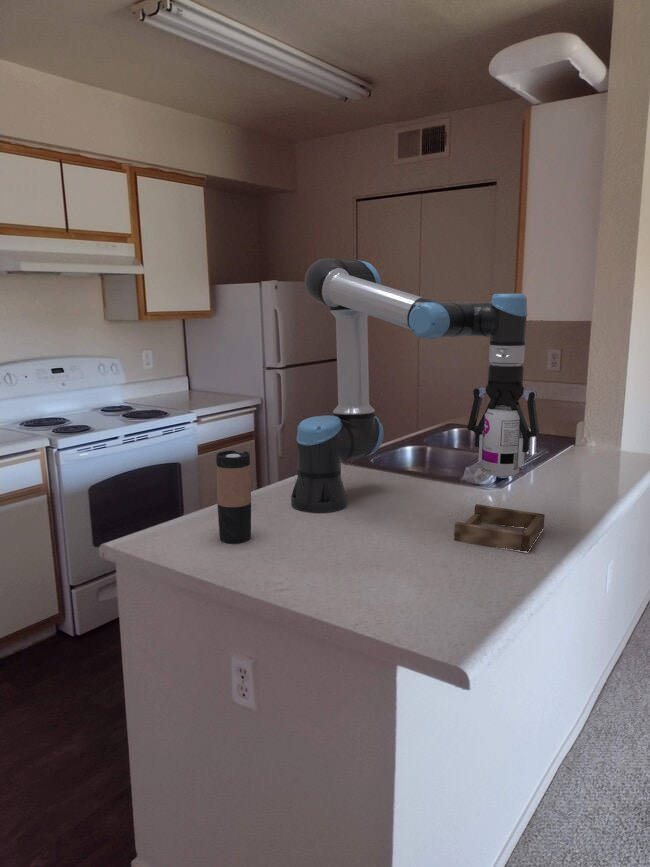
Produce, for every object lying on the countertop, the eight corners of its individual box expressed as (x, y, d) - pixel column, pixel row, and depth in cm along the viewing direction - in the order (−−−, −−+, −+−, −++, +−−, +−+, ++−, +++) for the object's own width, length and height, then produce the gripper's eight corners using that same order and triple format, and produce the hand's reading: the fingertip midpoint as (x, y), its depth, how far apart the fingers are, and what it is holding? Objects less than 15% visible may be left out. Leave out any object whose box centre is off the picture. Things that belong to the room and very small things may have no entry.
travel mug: (224, 546, 144) (222, 459, 140) (214, 535, 151) (211, 452, 147) (256, 540, 148) (255, 455, 144) (245, 530, 154) (243, 448, 150)
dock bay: (454, 540, 148) (454, 523, 147) (475, 519, 162) (476, 504, 162) (527, 553, 140) (529, 536, 139) (543, 530, 155) (544, 514, 154)
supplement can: (479, 475, 146) (482, 410, 143) (484, 467, 154) (488, 405, 151) (516, 479, 143) (520, 412, 140) (520, 470, 151) (524, 407, 148)
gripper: (455, 363, 146) (451, 461, 150) (552, 367, 136) (545, 472, 140) (465, 361, 152) (461, 455, 156) (558, 365, 142) (551, 465, 146)
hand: (500, 463), depth 148 cm, fingers closed on supplement can, 8 cm apart
